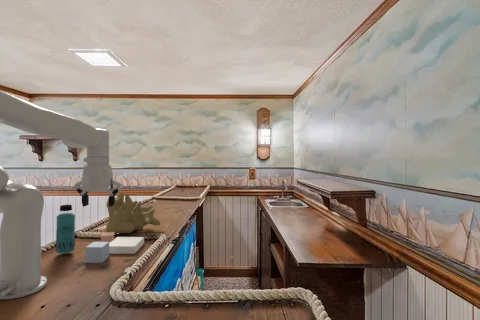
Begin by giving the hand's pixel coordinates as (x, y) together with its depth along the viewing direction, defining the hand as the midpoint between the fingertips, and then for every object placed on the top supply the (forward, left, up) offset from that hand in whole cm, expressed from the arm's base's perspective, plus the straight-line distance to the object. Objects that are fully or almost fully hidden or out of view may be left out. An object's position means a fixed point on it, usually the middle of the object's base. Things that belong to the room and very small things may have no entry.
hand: (98, 205), depth 103 cm
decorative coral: (+36, 0, -21) cm, 42 cm away
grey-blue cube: (0, 0, -21) cm, 21 cm away
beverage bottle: (+5, +15, -21) cm, 26 cm away
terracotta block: (+16, +4, -21) cm, 26 cm away
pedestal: (+12, -6, -21) cm, 25 cm away
